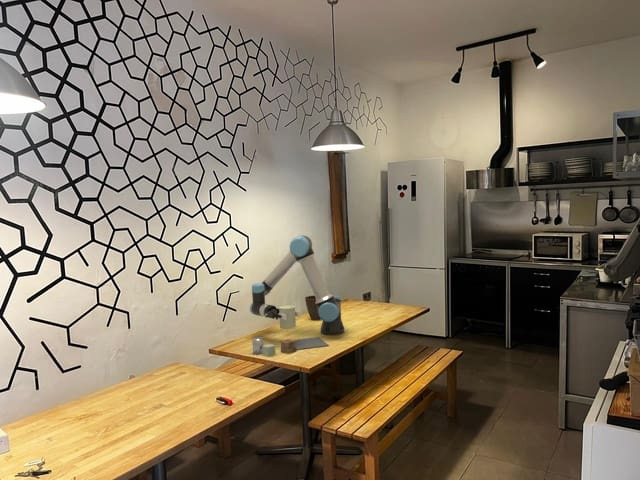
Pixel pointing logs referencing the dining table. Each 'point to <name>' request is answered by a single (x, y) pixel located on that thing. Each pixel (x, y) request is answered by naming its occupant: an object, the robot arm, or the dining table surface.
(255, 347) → the grey tin
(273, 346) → the sage block
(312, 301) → the plant pot
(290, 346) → the walnut block
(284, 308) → the can
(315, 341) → the charcoal mat
